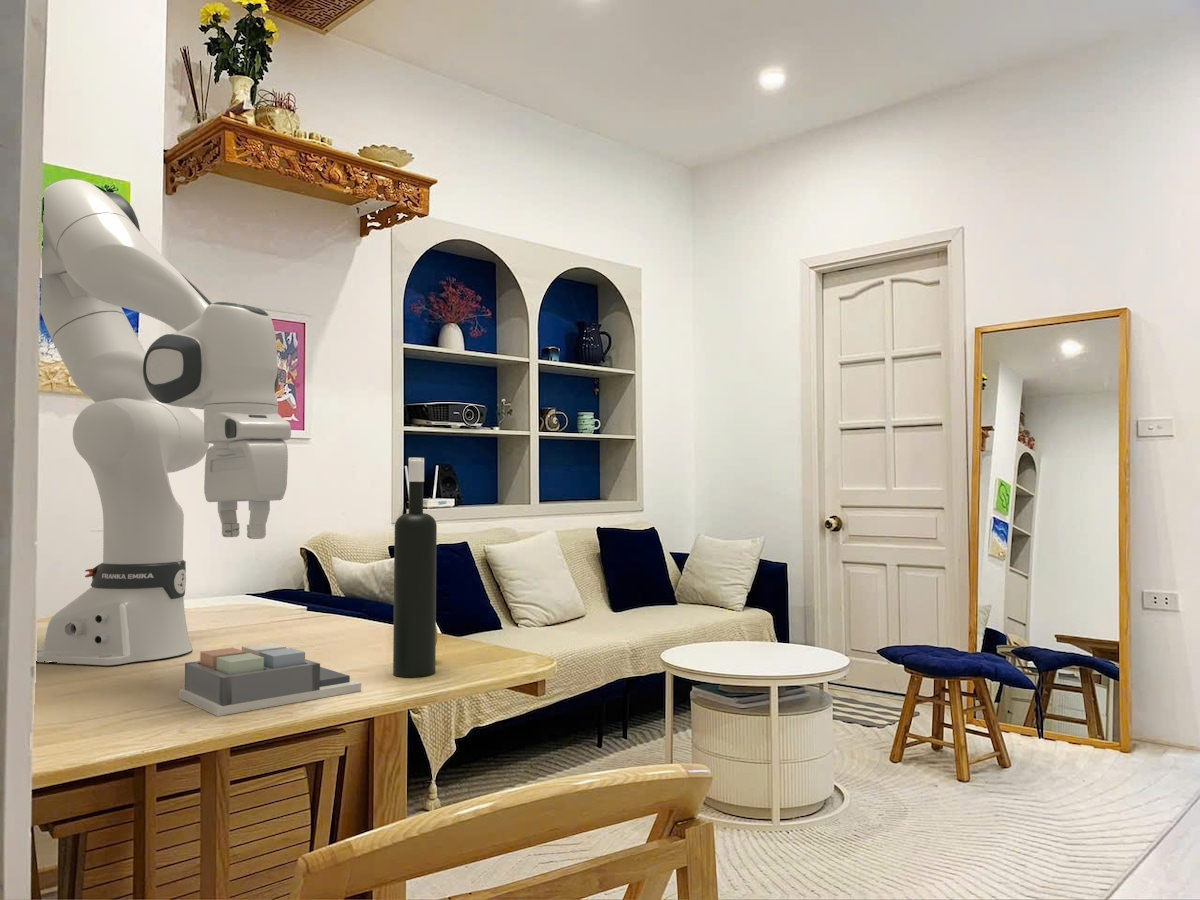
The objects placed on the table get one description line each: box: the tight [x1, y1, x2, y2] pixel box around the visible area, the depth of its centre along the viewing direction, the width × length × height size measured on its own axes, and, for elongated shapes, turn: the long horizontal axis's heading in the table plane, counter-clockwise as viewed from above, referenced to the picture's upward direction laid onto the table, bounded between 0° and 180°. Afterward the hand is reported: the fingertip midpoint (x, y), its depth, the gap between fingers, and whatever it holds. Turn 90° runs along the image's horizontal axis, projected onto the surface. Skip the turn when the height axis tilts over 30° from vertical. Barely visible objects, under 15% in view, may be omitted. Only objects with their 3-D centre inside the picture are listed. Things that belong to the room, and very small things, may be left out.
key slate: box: [259, 647, 306, 669], centre depth 111 cm, size 4×4×2 cm
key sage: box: [216, 653, 264, 675], centre depth 107 cm, size 4×4×2 cm
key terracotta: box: [199, 647, 246, 669], centre depth 111 cm, size 4×4×2 cm
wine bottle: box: [392, 457, 438, 678], centre depth 126 cm, size 6×6×30 cm
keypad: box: [178, 658, 362, 717], centre depth 112 cm, size 18×12×4 cm, turn 134°
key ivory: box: [241, 642, 287, 656], centre depth 114 cm, size 4×4×2 cm
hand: (243, 538), depth 114 cm, fingers open, 8 cm apart
